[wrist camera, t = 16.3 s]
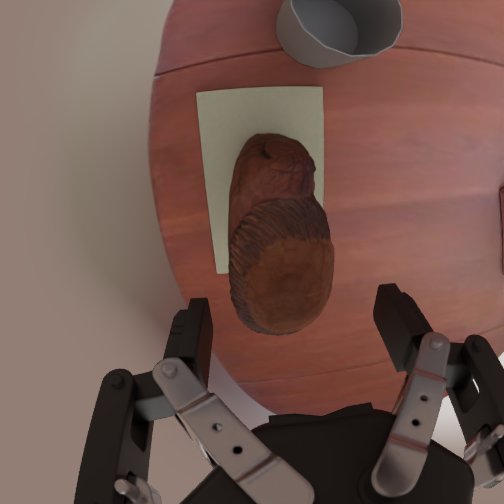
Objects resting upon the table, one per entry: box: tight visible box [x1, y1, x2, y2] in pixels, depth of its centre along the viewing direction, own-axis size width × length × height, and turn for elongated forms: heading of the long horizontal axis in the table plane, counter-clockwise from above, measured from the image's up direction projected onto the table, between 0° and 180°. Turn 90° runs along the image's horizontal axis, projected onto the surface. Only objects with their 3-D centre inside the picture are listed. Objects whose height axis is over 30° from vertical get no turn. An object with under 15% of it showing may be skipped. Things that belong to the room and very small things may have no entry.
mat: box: [196, 86, 324, 274], centre depth 30 cm, size 20×12×1 cm, turn 3°
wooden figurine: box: [228, 133, 334, 336], centre depth 22 cm, size 12×6×18 cm, turn 1°
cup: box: [276, 0, 403, 69], centre depth 19 cm, size 8×8×10 cm
